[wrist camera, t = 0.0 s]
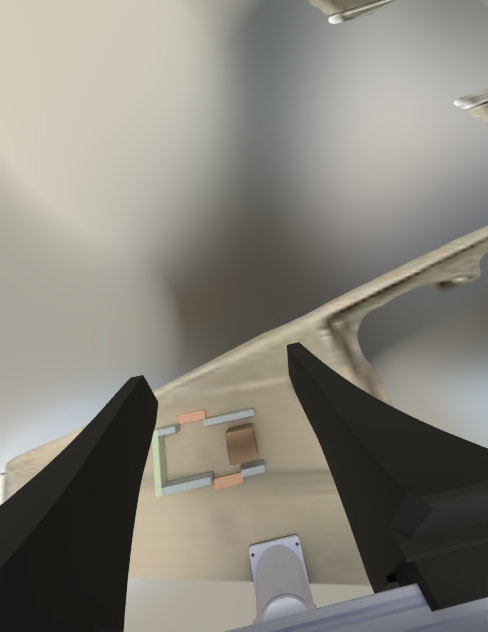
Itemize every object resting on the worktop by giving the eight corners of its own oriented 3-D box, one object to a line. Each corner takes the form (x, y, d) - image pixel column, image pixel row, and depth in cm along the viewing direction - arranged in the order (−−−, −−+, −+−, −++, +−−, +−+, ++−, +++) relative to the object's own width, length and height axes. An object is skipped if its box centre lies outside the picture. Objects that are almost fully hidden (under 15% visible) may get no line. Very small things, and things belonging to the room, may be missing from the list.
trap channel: (267, 476, 36) (268, 482, 34) (162, 500, 36) (156, 508, 33) (251, 399, 40) (251, 400, 38) (157, 420, 40) (151, 422, 37)
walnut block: (257, 450, 38) (258, 458, 33) (232, 456, 37) (230, 465, 33) (252, 423, 39) (252, 427, 35) (228, 428, 39) (225, 433, 35)
